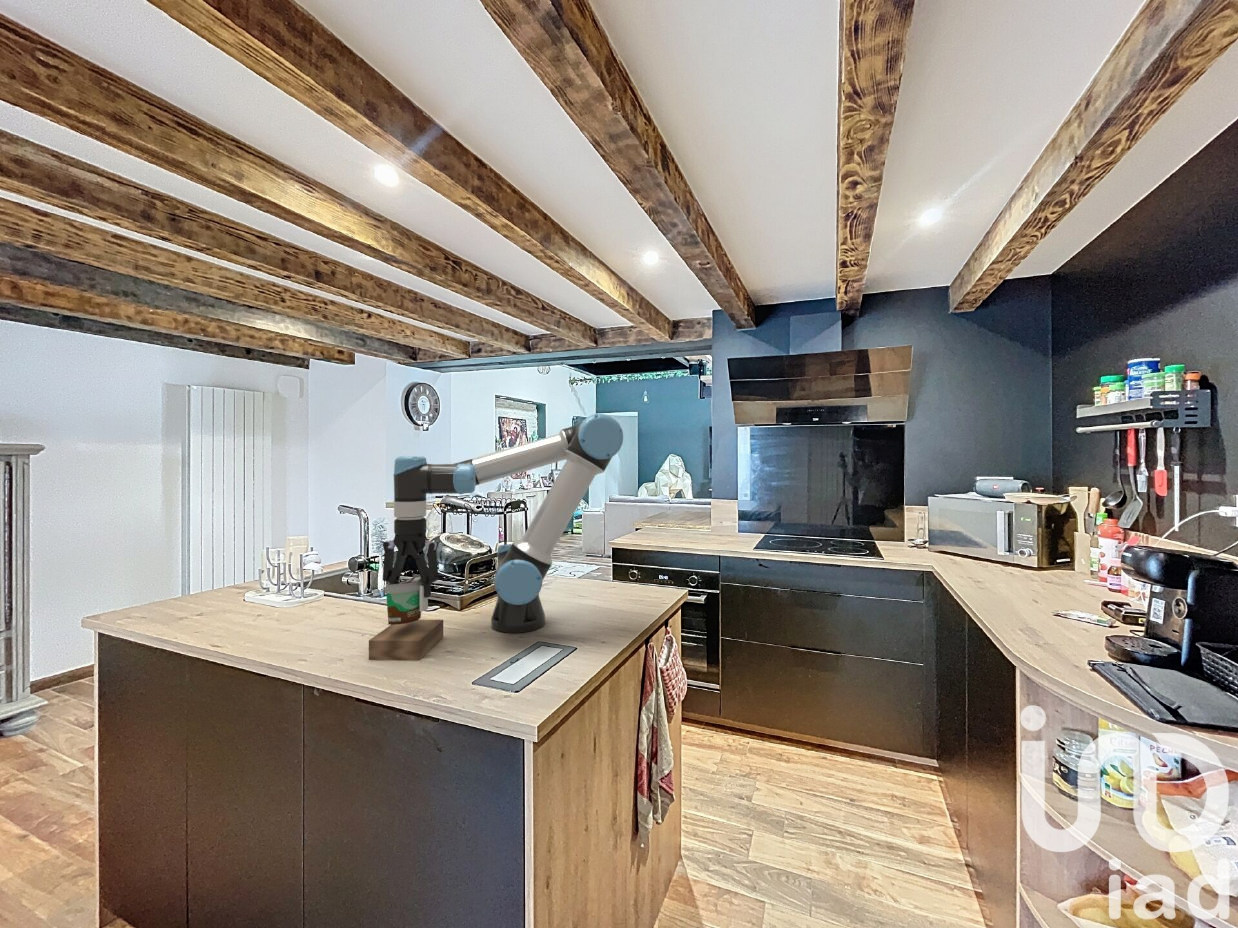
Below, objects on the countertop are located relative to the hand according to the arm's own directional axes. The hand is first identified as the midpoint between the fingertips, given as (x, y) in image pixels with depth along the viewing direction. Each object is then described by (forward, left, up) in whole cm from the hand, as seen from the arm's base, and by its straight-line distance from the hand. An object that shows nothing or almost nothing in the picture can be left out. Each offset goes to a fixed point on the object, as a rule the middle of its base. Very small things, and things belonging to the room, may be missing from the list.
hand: (410, 609), depth 132 cm
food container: (0, 0, -3) cm, 3 cm away
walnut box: (+1, 0, -10) cm, 10 cm away
